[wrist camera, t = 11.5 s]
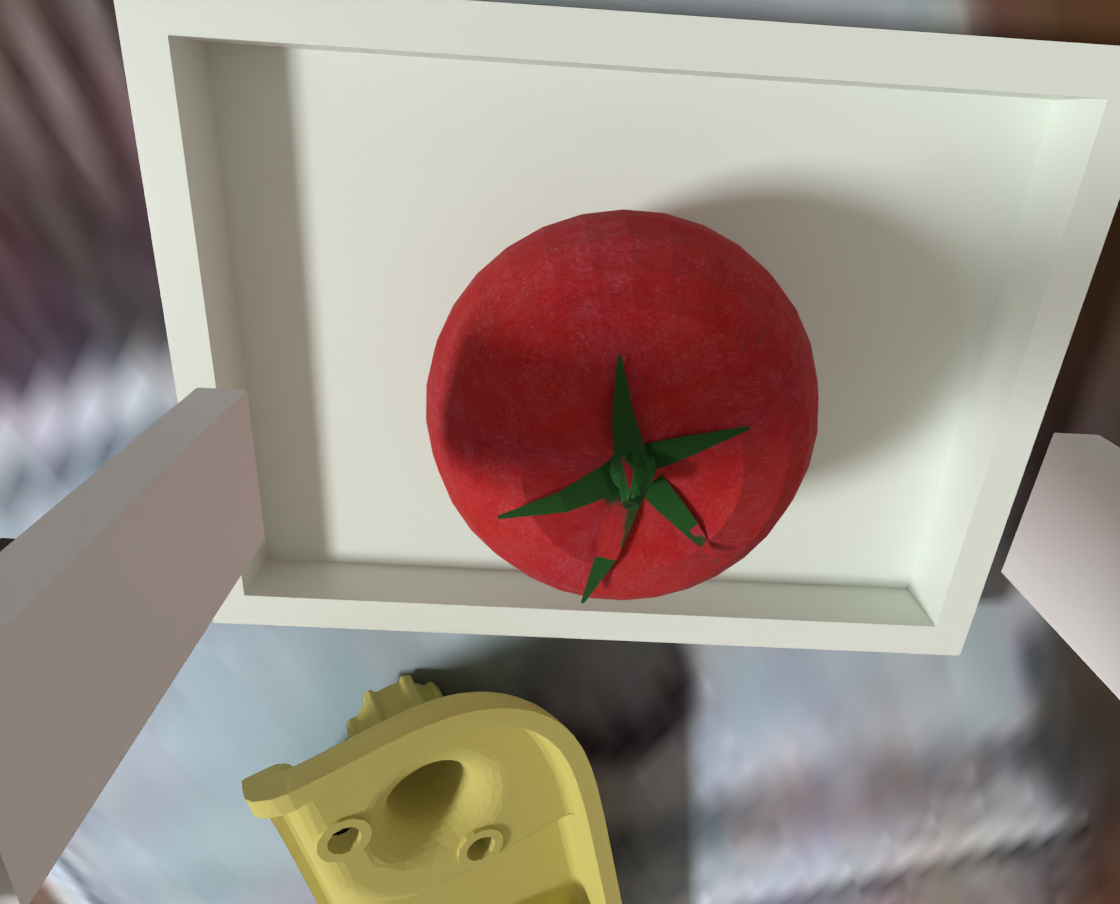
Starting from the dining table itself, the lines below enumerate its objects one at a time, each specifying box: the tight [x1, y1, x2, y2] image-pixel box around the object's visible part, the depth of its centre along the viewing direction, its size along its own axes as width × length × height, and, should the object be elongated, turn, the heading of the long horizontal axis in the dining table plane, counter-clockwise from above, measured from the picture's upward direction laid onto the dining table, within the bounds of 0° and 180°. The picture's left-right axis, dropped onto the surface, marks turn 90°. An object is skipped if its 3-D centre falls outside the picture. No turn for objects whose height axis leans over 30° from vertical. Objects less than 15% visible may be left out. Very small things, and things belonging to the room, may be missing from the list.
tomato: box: [426, 209, 819, 604], centre depth 17 cm, size 9×9×8 cm
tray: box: [114, 0, 1120, 655], centre depth 20 cm, size 16×22×2 cm
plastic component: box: [242, 675, 622, 904], centre depth 27 cm, size 20×7×10 cm
